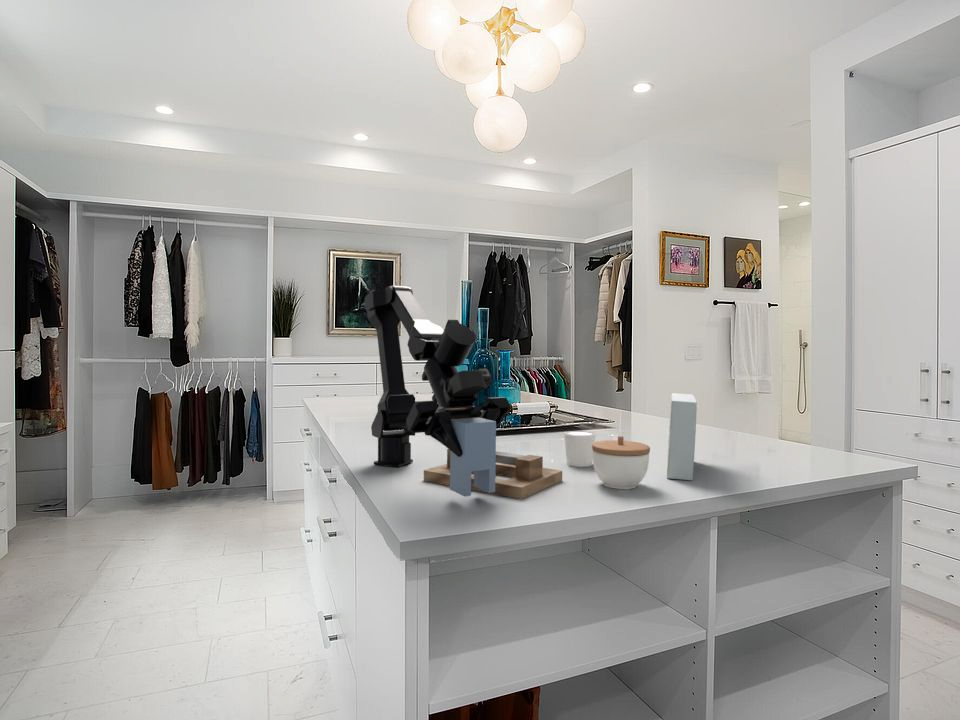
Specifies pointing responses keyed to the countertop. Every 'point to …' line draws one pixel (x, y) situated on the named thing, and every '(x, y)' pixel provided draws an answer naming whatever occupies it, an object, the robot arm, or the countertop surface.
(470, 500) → the countertop surface
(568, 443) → the white cup
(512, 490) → the wooden block stand
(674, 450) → the skincare box
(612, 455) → the lidded jar
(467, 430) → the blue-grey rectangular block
